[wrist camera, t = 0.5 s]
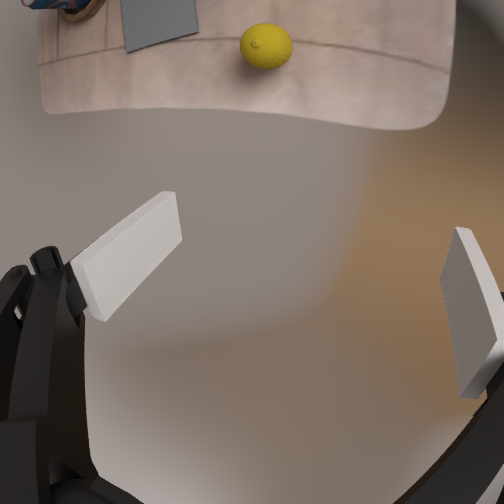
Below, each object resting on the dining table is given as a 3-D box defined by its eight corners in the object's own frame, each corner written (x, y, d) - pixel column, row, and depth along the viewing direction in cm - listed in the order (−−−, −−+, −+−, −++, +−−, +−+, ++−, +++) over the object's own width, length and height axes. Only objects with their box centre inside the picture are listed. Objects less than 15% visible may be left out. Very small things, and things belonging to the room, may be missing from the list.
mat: (121, -24, 31) (119, -24, 31) (189, -51, 27) (187, -52, 27) (129, 52, 38) (126, 52, 38) (198, 32, 34) (196, 32, 34)
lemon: (278, 20, 31) (257, 8, 25) (307, 51, 32) (294, 45, 26) (245, 47, 34) (219, 42, 28) (273, 78, 35) (252, 79, 29)
